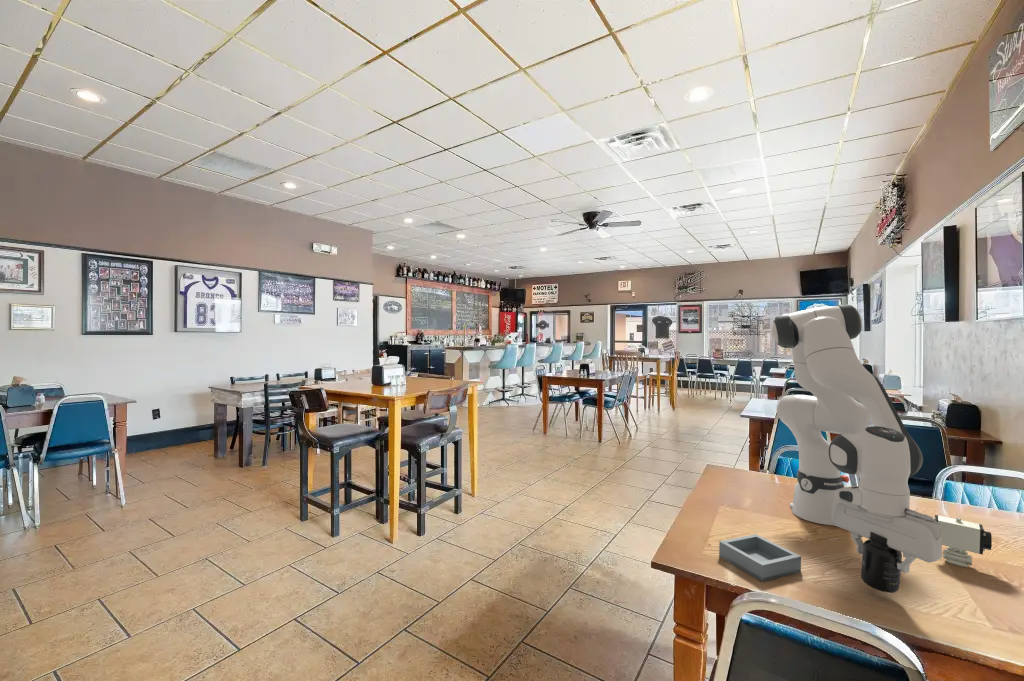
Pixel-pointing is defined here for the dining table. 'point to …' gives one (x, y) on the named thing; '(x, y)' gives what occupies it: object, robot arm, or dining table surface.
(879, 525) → the robot arm
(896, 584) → the supplement bottle
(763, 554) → the tray
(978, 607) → the dining table surface
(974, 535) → the pneumatic valve
